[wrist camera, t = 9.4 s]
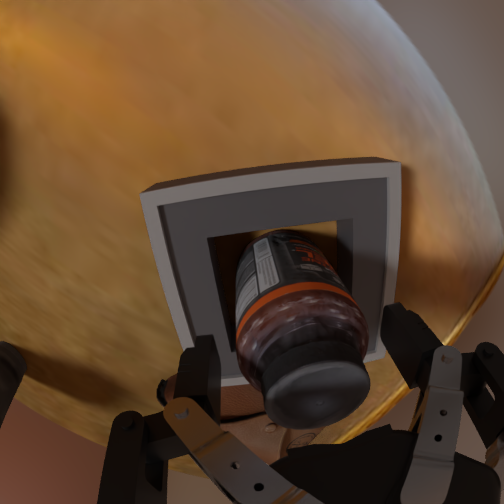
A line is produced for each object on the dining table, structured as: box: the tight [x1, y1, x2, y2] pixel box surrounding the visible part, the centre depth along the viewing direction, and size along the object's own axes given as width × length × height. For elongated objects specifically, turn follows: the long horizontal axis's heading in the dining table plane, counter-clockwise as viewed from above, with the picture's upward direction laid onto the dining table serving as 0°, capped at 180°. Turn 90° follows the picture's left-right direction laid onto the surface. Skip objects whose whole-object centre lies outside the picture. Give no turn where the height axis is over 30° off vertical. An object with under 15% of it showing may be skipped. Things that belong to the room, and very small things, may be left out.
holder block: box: [140, 157, 401, 387], centre depth 18 cm, size 14×14×3 cm
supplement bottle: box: [236, 230, 370, 430], centre depth 14 cm, size 6×6×11 cm
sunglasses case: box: [157, 374, 329, 464], centre depth 24 cm, size 18×7×7 cm
